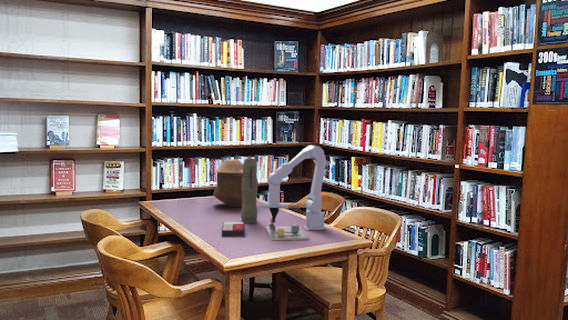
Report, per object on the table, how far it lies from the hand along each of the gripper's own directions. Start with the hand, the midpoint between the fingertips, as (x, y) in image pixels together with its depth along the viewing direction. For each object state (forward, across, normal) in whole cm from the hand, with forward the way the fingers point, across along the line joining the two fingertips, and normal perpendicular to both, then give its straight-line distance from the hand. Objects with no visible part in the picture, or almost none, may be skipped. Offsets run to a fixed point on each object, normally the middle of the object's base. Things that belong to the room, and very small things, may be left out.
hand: (273, 222), depth 237 cm
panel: (+4, +6, -7) cm, 10 cm away
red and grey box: (+5, -21, -1) cm, 21 cm away
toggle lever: (+2, 0, 0) cm, 2 cm away
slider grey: (+3, +9, -8) cm, 13 cm away
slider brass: (+3, +1, -15) cm, 15 cm away
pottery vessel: (+5, -16, +65) cm, 67 cm away
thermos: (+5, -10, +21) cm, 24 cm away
